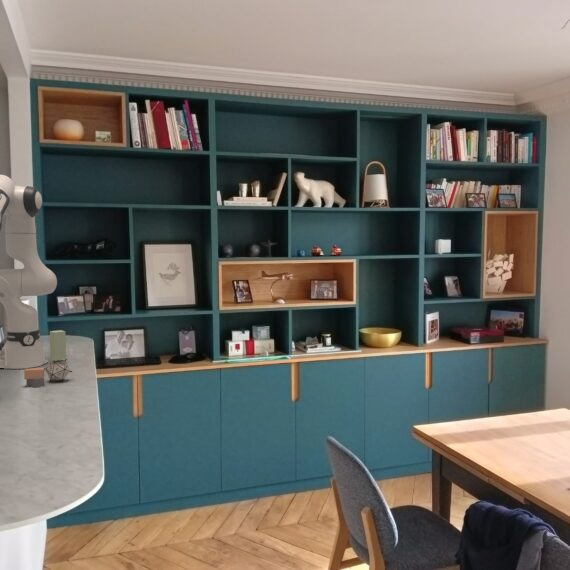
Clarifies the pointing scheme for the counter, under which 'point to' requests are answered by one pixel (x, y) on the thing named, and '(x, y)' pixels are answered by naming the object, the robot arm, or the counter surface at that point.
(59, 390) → the counter surface
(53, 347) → the green block
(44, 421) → the counter surface
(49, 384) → the counter surface
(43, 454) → the counter surface
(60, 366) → the game die
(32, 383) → the charcoal brick
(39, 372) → the terracotta brick
